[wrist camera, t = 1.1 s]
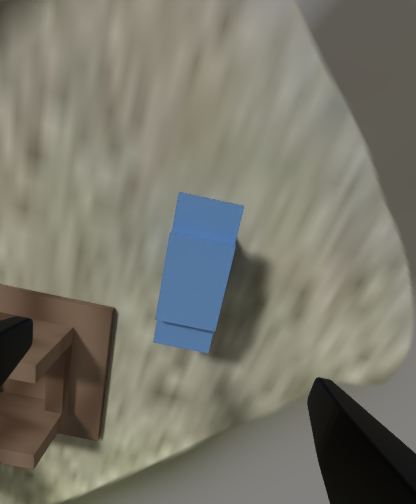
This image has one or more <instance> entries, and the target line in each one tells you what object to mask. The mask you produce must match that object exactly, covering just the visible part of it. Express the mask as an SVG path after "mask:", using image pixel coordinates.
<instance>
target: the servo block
mask: <svg viewBox="0 0 416 504" xmlns="http://www.w3.org/2000/svg"><path fill="white" fill-rule="evenodd" d="M243 209H244V206H243V205H238V204H233V203H229V202H224V201H219V200H215V199H210V198H205V197H200V196H196V195H191V194H186V193H182V192H180V193H179V194H178V200H177V205H176V211H175V217H174V223H173V229H172V232H171V233H170V235H169V241H168V247H167V253H166V259H165V265H164V271H163V277H162V283H161V289H160V295H159V301H158V307H157V313H156V319H155V320H157V323H156V329H155V335H154V341H153V342H155V343H160V344H164V345H169V346H174V347H179V348H184V349H189V350H194V351H199V352H204V353H209V349H210V345H211V341H212V337H213V332H215V330H216V326H217V322H218V318H219V314H220V310H221V306H222V302H223V297H224V293H225V289H226V285H227V281H228V277H229V273H230V269H231V265H232V261H233V257H234V252H235V248H236V246H235V242H236V238H237V234H238V229H239V225H240V221H241V217H242V213H243Z"/></svg>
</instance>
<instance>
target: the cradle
mask: <svg viewBox="0 0 416 504" xmlns="http://www.w3.org/2000/svg"><path fill="white" fill-rule="evenodd" d="M114 309H115V308H113V307H108V306H103V305H98V304H93V303H89V302H84V301H79V300H74V299H69V298H64V297H59V296H55V295H50V294H45V293H40V292H35V291H30V290H26V289H21V288H16V287H11V286H6V285H1V284H0V320H4V319H7V318H11V317H14V316H23V317H28V318H31V319H32V320H33V343H32V346H31V348H30V349H29V351H28V352H27V353H26V355H25V356H24V357H23V359H22V360H21V361H20V363H19V364H18V365H17V367H16V368H15V369H14V371H13V372H12V373H11V375H10V376H9V377H8V378H7V380H6V381H5V382H4V384H3V385H2V386H1V388H0V463H2V464H7V465H12V466H17V467H22V468H27V469H32V470H34V468H35V467H36V465H37V464H38V462H39V461H40V459H41V457H42V456H43V454H44V453H45V451H46V450H47V448H48V447H49V445H50V443H51V442H52V440H53V439H54V437H55V436H56V434H57V433H60V434H65V435H70V436H75V437H80V438H85V439H90V440H95V441H98V439H99V437H100V431H101V422H102V414H103V405H104V396H105V387H106V379H107V370H108V361H109V352H110V344H111V335H112V326H113V318H114Z"/></svg>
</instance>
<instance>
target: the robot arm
mask: <svg viewBox="0 0 416 504" xmlns="http://www.w3.org/2000/svg"><path fill="white" fill-rule="evenodd" d="M32 343H33V320H32V319H31V318H28V317H23V316H14V317H11V318H7V319H4V320H0V388H1V386H2V385H3V384H4V382H5V381H6V380H7V378H8V377H9V376H10V375H11V373H12V372H13V371H14V369H15V368H16V367H17V365H18V364H19V363H20V361H21V360H22V359H23V357H24V356H25V355H26V353H27V352H28V351H29V349H30V348H31V346H32ZM307 404H308V410H309V416H310V421H311V426H312V432H313V437H314V443H315V447H316V453H317V457H318V462H319V465H320V469H321V473H322V477H323V480H324V484H325V487H326V491H327V494H328V498H329V501H330V504H416V454H415V453H414V452H413V451H412V450H411V449H410V448H409V447H407V446H406V445H405V444H404V443H403V442H402V441H401V440H399V439H398V438H397V437H396V436H395V435H394V434H393V433H391V432H390V431H389V430H388V429H387V428H386V427H384V426H383V425H382V424H381V423H380V422H379V421H378V420H376V419H375V418H374V417H373V416H372V415H371V414H369V413H368V412H367V411H366V410H365V409H364V408H363V407H361V406H360V405H359V404H358V403H357V402H356V401H354V400H353V399H352V398H351V397H350V396H349V395H348V394H346V393H345V392H344V391H343V390H342V389H341V388H340V387H338V386H337V385H336V384H335V383H334V382H333V381H331V380H329V379H325V378H320V377H318V378H316V379H315V381H314V383H313V386H312V388H311V391H310V394H309V396H308V403H307Z"/></svg>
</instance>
